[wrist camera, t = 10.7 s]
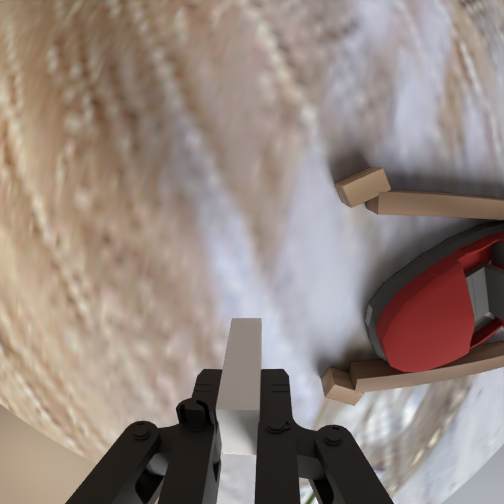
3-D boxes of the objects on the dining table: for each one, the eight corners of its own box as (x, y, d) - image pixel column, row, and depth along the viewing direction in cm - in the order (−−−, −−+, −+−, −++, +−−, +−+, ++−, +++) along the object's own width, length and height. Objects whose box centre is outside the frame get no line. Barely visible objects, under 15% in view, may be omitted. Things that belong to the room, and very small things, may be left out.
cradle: (334, 165, 22) (342, 166, 19) (566, 192, 21) (581, 196, 18) (319, 389, 27) (323, 408, 24) (530, 354, 26) (541, 364, 23)
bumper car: (349, 283, 24) (394, 355, 15) (527, 192, 21) (604, 212, 12) (379, 373, 27) (416, 452, 17) (536, 281, 24) (598, 320, 14)
